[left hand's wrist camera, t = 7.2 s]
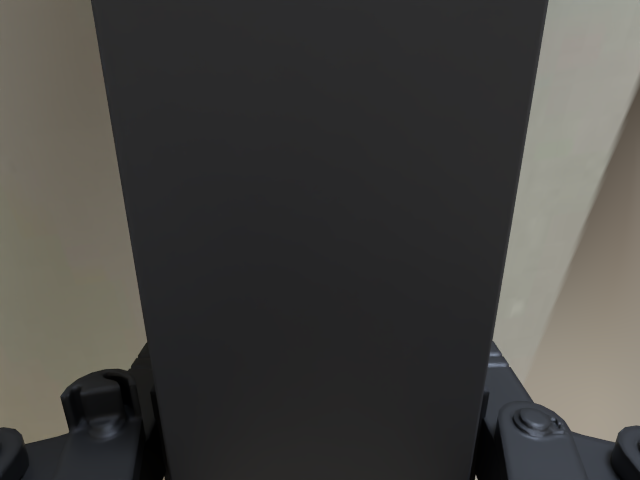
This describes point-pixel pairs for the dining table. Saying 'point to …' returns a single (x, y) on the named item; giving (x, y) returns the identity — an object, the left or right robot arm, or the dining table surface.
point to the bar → (319, 223)
